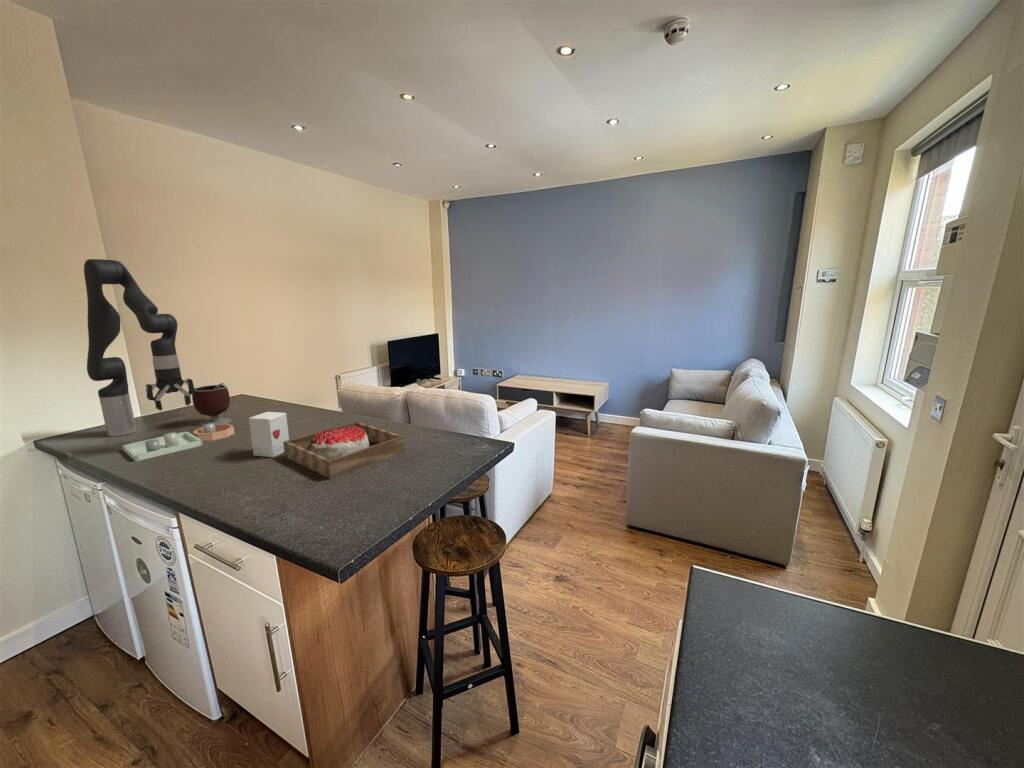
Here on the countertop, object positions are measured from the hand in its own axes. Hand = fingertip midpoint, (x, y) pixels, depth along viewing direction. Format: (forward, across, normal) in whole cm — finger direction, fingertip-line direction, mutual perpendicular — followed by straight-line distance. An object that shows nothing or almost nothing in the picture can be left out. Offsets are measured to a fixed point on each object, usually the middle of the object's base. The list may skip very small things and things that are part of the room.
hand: (174, 407), depth 157 cm
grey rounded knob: (+15, +10, +5) cm, 19 cm away
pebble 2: (+15, +3, +1) cm, 15 cm away
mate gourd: (+16, -20, -23) cm, 34 cm away
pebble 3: (+15, -11, -1) cm, 18 cm away
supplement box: (+16, -18, +37) cm, 44 cm away
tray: (+16, +5, 0) cm, 17 cm away
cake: (+16, -31, +59) cm, 68 cm away
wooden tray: (+16, -33, +62) cm, 72 cm away
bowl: (+16, -12, 0) cm, 20 cm away
